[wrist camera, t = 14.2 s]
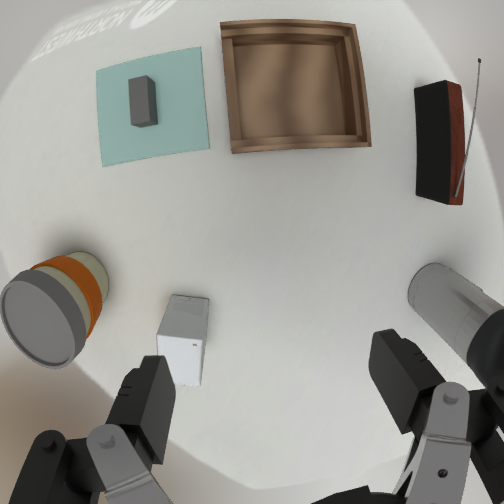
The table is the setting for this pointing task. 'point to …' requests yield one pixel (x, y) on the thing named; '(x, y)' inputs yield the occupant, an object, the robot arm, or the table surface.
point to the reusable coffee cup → (54, 307)
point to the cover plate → (169, 104)
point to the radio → (441, 141)
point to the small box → (184, 338)
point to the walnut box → (294, 85)
